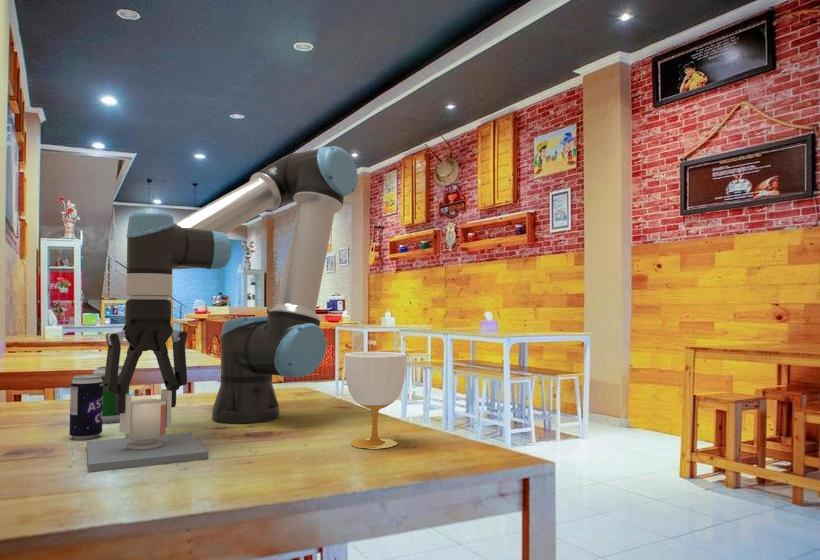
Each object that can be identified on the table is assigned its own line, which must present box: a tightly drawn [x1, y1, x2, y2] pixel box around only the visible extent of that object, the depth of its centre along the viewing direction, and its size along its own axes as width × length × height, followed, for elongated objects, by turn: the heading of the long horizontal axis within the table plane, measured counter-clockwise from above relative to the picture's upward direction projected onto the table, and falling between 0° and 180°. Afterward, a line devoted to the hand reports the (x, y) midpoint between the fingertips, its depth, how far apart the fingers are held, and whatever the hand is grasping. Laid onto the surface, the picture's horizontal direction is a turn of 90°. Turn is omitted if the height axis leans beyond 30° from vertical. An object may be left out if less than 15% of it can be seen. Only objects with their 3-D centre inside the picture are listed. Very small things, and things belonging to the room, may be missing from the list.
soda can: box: [92, 365, 130, 424], centre depth 137 cm, size 8×8×12 cm
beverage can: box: [68, 374, 103, 441], centre depth 119 cm, size 6×6×12 cm
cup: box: [344, 351, 407, 449], centre depth 115 cm, size 12×12×17 cm
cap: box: [125, 398, 166, 440], centre depth 107 cm, size 6×6×6 cm
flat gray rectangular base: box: [86, 431, 209, 473], centre depth 107 cm, size 18×18×3 cm
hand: (145, 428), depth 107 cm, fingers closed on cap, 6 cm apart
